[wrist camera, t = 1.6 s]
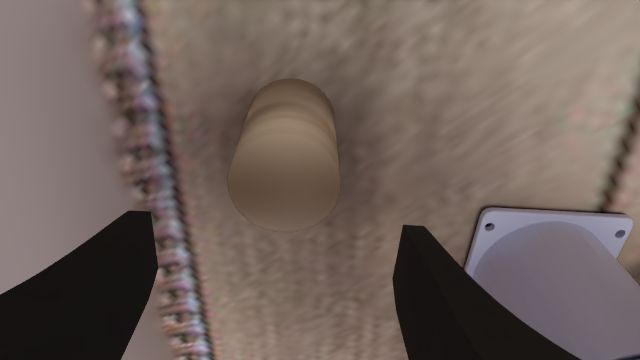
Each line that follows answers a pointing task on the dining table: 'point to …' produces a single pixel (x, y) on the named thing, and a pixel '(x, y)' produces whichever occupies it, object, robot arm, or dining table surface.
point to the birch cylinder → (286, 158)
